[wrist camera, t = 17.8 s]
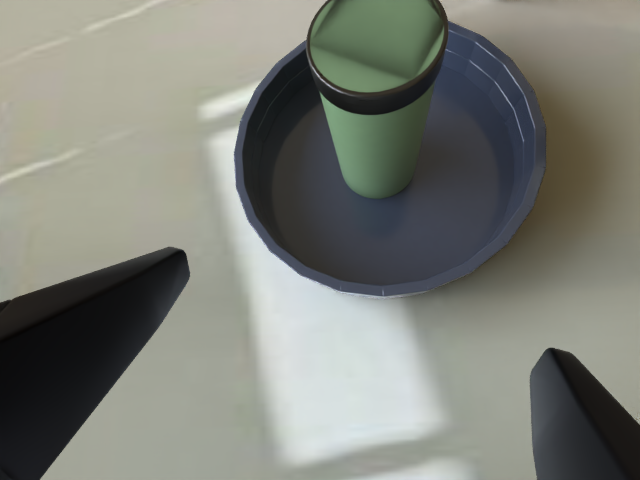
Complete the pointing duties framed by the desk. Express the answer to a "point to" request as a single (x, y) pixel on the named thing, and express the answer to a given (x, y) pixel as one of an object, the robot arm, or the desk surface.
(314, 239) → the pan
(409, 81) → the tea tin
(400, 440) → the desk surface
